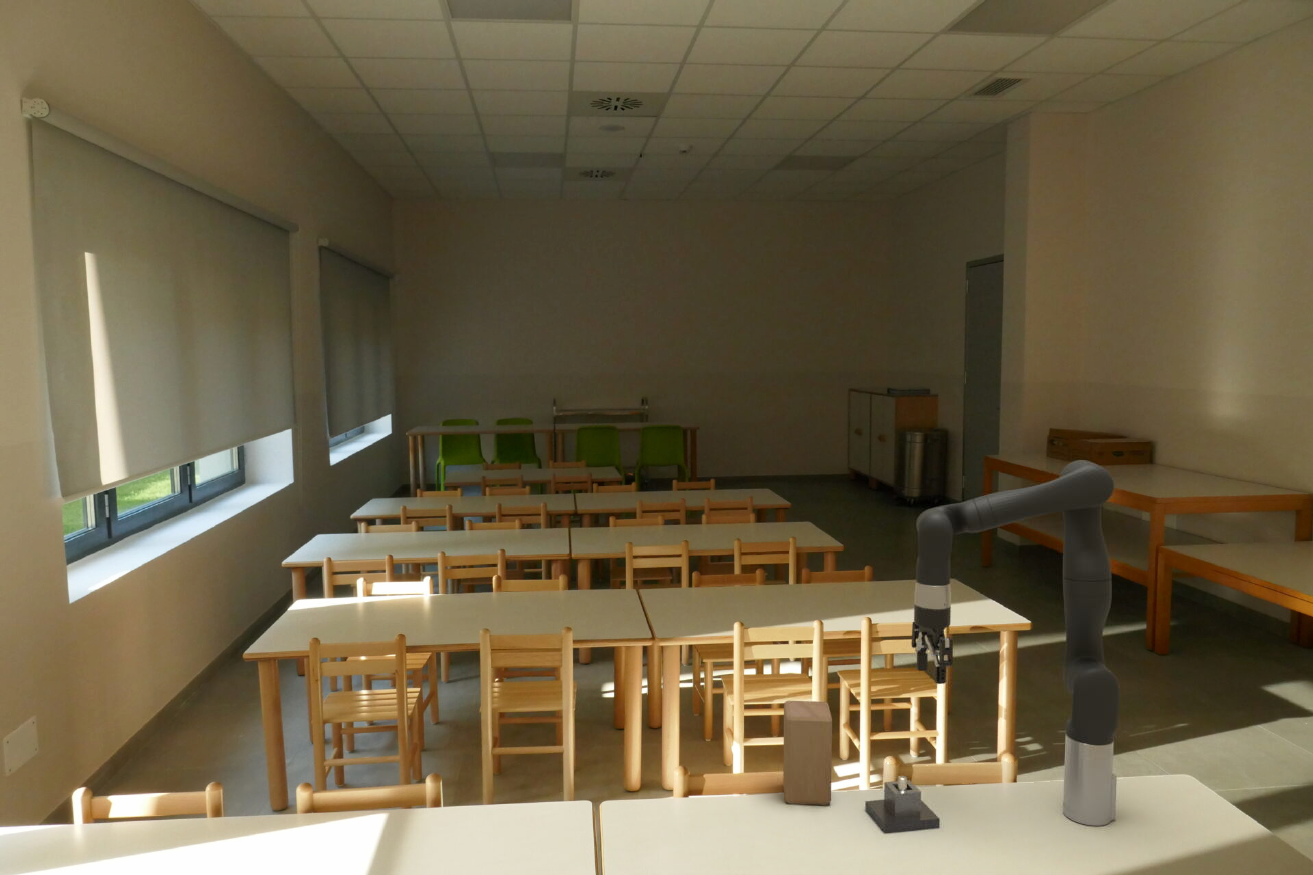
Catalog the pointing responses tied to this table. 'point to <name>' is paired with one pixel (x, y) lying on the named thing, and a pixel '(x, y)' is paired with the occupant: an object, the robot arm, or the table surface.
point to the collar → (902, 799)
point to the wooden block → (807, 752)
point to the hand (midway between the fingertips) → (930, 676)
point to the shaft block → (901, 823)
